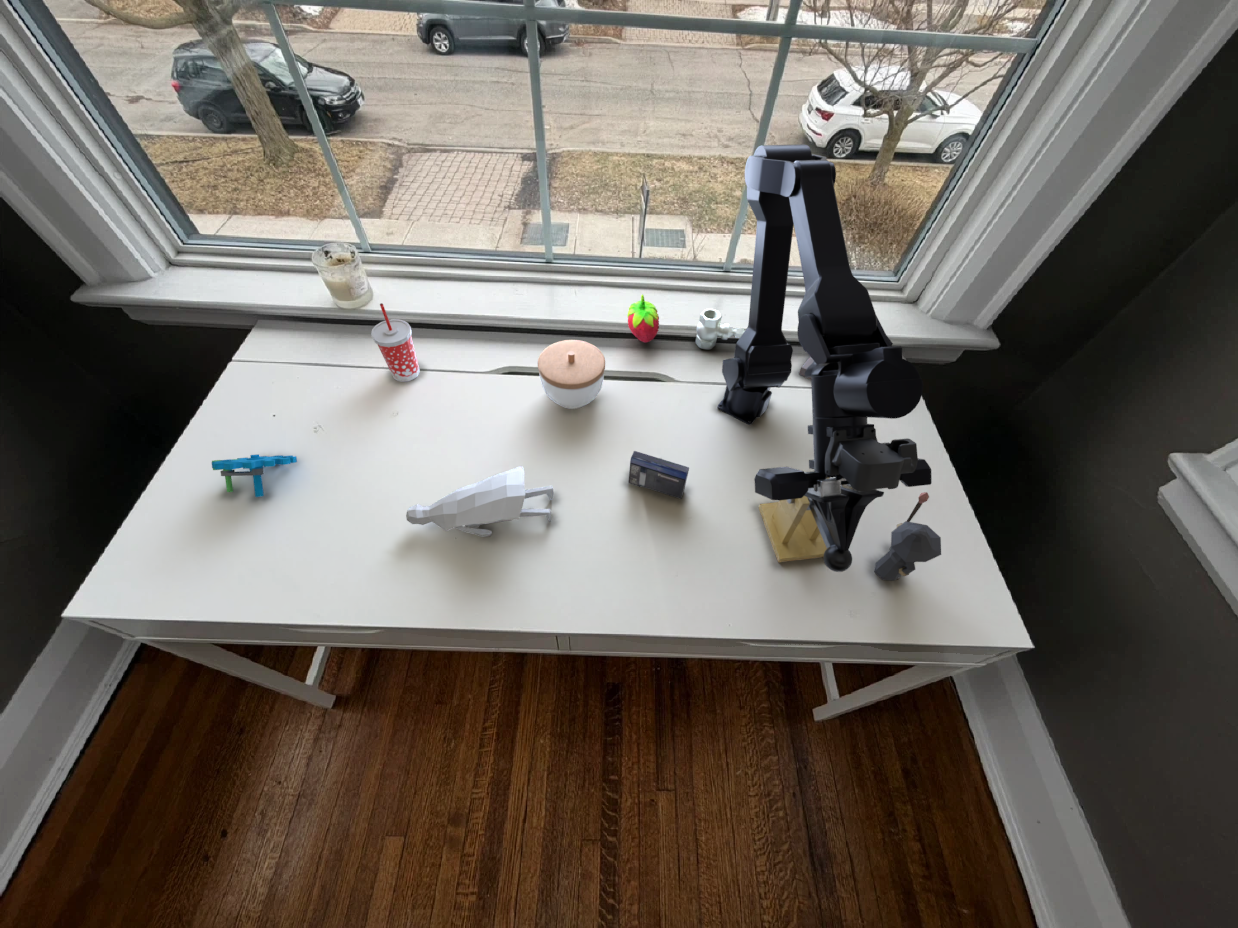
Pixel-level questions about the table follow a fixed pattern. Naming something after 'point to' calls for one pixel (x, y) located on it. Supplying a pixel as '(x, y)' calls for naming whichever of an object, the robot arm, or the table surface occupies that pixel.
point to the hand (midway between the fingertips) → (842, 550)
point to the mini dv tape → (657, 474)
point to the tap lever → (830, 544)
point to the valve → (713, 329)
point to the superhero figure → (482, 504)
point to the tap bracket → (792, 530)
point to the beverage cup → (396, 347)
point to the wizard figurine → (909, 547)
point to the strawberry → (643, 320)
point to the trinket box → (571, 372)
